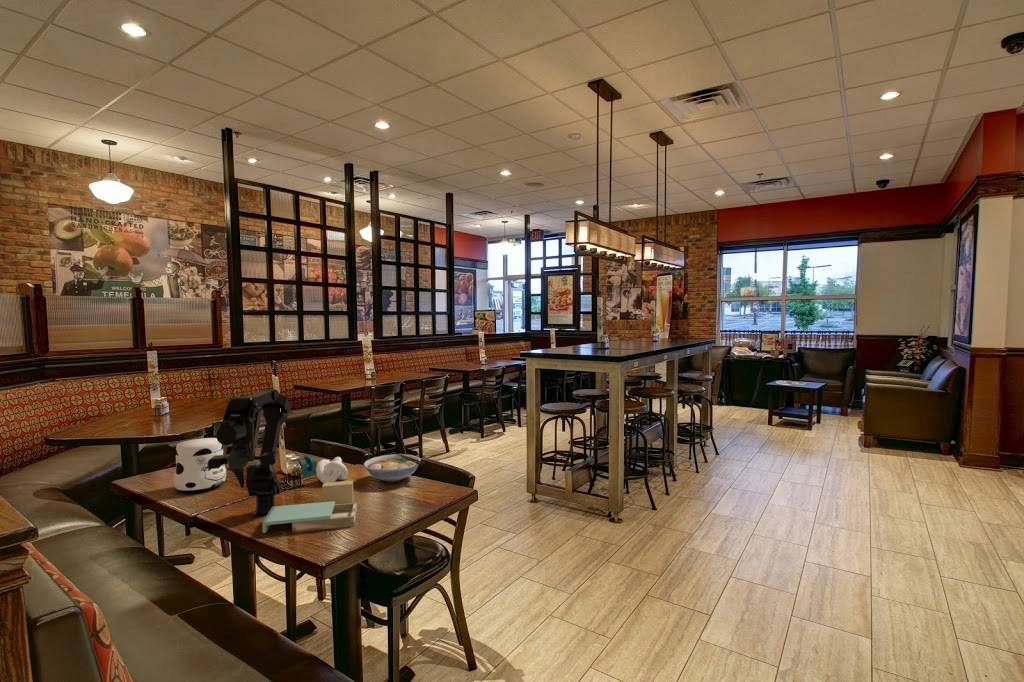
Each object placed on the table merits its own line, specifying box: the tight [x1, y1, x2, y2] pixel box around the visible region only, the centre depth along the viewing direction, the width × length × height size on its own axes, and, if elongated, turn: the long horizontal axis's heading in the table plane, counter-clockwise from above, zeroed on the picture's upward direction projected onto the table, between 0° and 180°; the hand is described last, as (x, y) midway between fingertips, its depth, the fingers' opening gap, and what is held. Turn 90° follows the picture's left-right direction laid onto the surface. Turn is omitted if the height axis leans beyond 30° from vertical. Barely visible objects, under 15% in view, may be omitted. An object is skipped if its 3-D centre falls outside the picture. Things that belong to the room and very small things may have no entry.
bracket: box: [279, 454, 318, 479], centre depth 208 cm, size 18×7×8 cm, turn 58°
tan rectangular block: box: [321, 480, 354, 504], centre depth 173 cm, size 4×10×7 cm, turn 104°
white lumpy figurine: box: [316, 456, 349, 484], centre depth 198 cm, size 11×12×9 cm
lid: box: [261, 501, 335, 534], centre depth 155 cm, size 13×19×3 cm
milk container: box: [173, 437, 227, 493], centre depth 190 cm, size 17×17×18 cm
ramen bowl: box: [363, 451, 426, 483], centre depth 199 cm, size 25×23×8 cm
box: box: [291, 502, 358, 533], centre depth 156 cm, size 13×18×3 cm
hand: (245, 487), depth 150 cm, fingers closed
